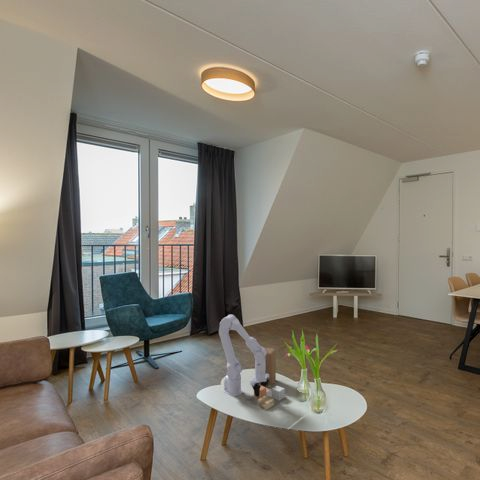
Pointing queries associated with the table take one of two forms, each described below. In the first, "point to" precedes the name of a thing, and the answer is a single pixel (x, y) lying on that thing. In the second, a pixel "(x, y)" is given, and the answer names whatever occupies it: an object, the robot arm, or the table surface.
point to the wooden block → (270, 365)
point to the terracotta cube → (261, 392)
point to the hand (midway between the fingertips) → (260, 394)
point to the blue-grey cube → (278, 393)
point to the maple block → (266, 402)
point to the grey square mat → (268, 394)
